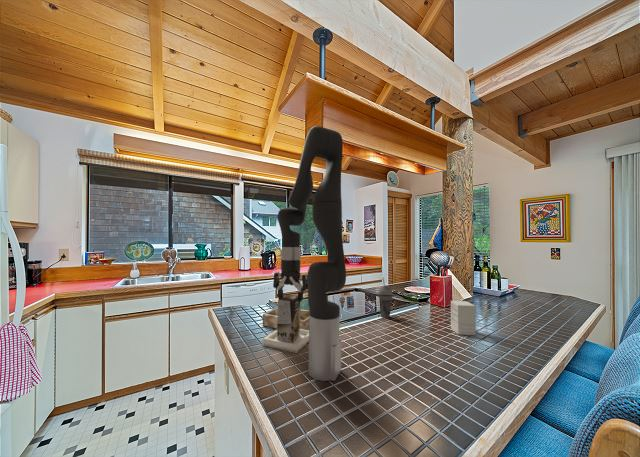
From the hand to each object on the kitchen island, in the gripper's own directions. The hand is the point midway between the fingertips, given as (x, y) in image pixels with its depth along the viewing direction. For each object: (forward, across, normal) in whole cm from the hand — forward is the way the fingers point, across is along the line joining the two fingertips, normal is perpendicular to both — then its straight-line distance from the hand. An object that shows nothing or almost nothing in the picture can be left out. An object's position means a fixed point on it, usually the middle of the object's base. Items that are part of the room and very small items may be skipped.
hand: (290, 300), depth 94 cm
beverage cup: (+16, +30, +46) cm, 57 cm away
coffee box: (+15, -1, 0) cm, 15 cm away
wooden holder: (+15, -9, +16) cm, 24 cm away
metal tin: (+15, -14, +16) cm, 27 cm away
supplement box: (+17, +64, +41) cm, 78 cm away
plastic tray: (+16, 0, 0) cm, 16 cm away
